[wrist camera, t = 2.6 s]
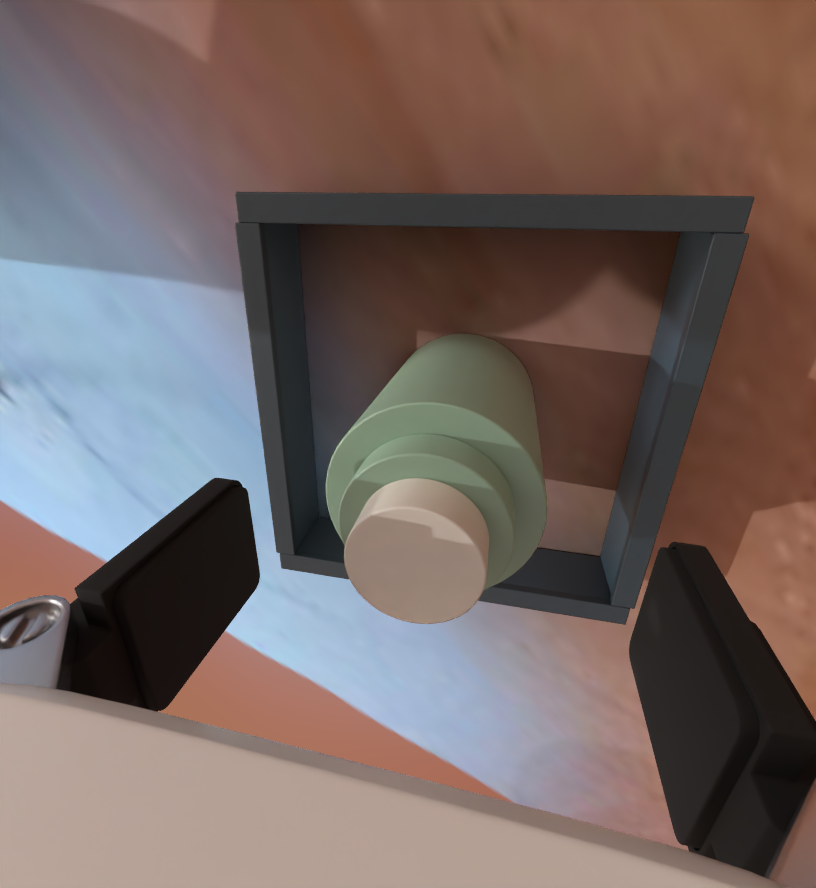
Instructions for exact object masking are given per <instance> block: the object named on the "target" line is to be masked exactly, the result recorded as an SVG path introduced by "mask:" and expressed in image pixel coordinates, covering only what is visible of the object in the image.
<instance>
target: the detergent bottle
mask: <svg viewBox="0 0 816 888" xmlns="http://www.w3.org/2000/svg"><path fill="white" fill-rule="evenodd" d="M326 499H327V506H328V510H329V513H330V517H331V520H332V522H333V524H334V527H335V529H336V531H337V533H338V534H339V536H340V538H341V539H342V541H343V544H344V546H345V548H344V562H345V568H346V571H347V574H348V577H349V579H350V581H351V583H352V584H353V586H354V588H355V589H356V590H357V591H358V593H359V594H360V595H361V596H362V597H363V598H364V599H365V600H366V601H367V602H368V603H369V604H371V605H372V606H373V607H375V608H376V609H378V610H379V611H381V612H383V613H385V614H387V615H389V616H391V617H394V618H396V619H399V620H402V621H407V622H411V623H419V624H433V623H441V622H446V621H449V620H452V619H455V618H457V617H459V616H461V615H462V614H464V613H466V612H467V611H468V610H469V609H471V608H472V607H473V606H474V605H475V603H476V602H477V601H478V600H479V598H480V596H481V595H482V593H483V591H484V590H486V589H487V588H489V587H491V586H493V585H496V584H498V583H500V582H502V581H504V580H505V579H507V578H508V577H510V576H511V575H513V574H514V573H515V572H516V571H518V570H519V569H520V568H521V567H522V566H523V565H524V564H525V563H526V562H527V561H528V559H529V558H530V557H531V556H532V554H533V553H534V551H535V550H536V548H537V546H538V544H539V542H540V540H541V538H542V535H543V532H544V528H545V525H546V518H547V495H546V488H545V480H544V472H543V464H542V456H541V449H540V441H539V433H538V425H537V417H536V410H535V402H534V394H533V389H532V384H531V381H530V378H529V376H528V373H527V372H526V370H525V368H524V366H523V365H522V363H521V362H520V361H519V359H518V358H517V357H516V356H515V355H514V354H513V353H512V352H511V351H510V350H508V349H507V348H506V347H504V346H503V345H501V344H499V343H498V342H496V341H494V340H491V339H489V338H487V337H483V336H479V335H474V334H451V335H446V336H442V337H439V338H436V339H434V340H432V341H430V342H428V343H426V344H424V345H423V346H421V347H420V348H419V349H418V350H416V351H415V352H414V353H413V354H412V355H411V356H410V357H409V358H408V360H407V361H406V362H405V363H404V365H403V366H402V367H401V368H400V369H399V371H398V372H397V373H396V374H395V375H394V377H393V378H392V379H391V380H390V382H389V383H388V384H387V385H386V386H385V388H384V389H383V390H382V391H381V392H380V394H379V395H378V396H377V397H376V398H375V400H374V401H373V402H372V403H371V405H370V406H369V407H368V408H367V409H366V411H365V412H364V413H363V414H362V415H361V417H360V418H359V419H358V420H357V422H356V423H355V424H354V425H353V426H352V428H351V429H350V430H349V431H348V432H347V434H346V435H345V436H344V437H343V439H342V440H341V442H340V443H339V445H338V446H337V448H336V450H335V452H334V454H333V456H332V458H331V461H330V464H329V467H328V471H327V477H326Z"/></svg>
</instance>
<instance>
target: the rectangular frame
mask: <svg viewBox="0 0 816 888" xmlns="http://www.w3.org/2000/svg"><path fill="white" fill-rule="evenodd" d="M235 194H236V203H237V211H238V219H239V222H240V223H235V228H236V235H237V243H238V251H239V259H240V267H241V275H242V283H243V291H244V299H245V307H246V314H247V322H248V330H249V338H250V346H251V354H252V362H253V370H254V378H255V385H256V393H257V401H258V409H259V417H260V425H261V433H262V441H263V449H264V457H265V464H266V472H267V480H268V488H269V496H270V504H271V512H272V520H273V528H274V535H275V543H276V551H277V552H278V553H280V560H281V568H283V569H289V570H295V571H301V572H307V573H313V574H320V575H326V576H332V577H338V578H344V579H349V577H348V574H347V571H346V568H345V562H344V548H345V546H344V544H343V541H342V539H341V538H340V536H339V534H338V533H337V531H336V529H335V527H334V524H333V522H332V520H331V519H327V518H320V517H319V510H318V496H317V483H316V469H315V456H314V443H313V429H312V416H311V402H310V389H309V375H308V362H307V349H306V335H305V322H304V308H303V295H302V282H301V268H300V255H299V241H298V228H297V224H324V225H371V226H418V227H465V228H512V229H559V230H606V231H653V232H681V234H680V238H679V242H678V246H677V250H676V254H675V258H674V262H673V266H672V270H671V274H670V279H669V283H668V287H667V291H666V295H665V299H664V303H663V307H662V311H661V315H660V319H659V323H658V327H657V331H656V335H655V339H654V343H653V347H652V351H651V355H650V359H649V363H648V367H647V371H646V375H645V379H644V383H643V387H642V391H641V395H640V399H639V403H638V407H637V411H636V415H635V419H634V423H633V427H632V431H631V435H630V439H629V443H628V447H627V451H626V455H625V459H624V463H623V467H622V471H621V475H620V479H619V483H618V487H617V491H616V495H615V499H614V503H613V507H612V511H611V515H610V519H609V523H608V527H607V531H606V535H605V539H604V543H603V547H602V551H601V555H600V557H597V556H590V555H583V554H576V553H569V552H562V551H555V550H547V549H540V548H536V550H535V551H534V553H533V554H532V556H531V557H530V558H529V559H528V561H527V562H526V563H525V564H524V565H523V566H522V567H521V568H520V569H519V570H518V571H516V572H515V573H514V574H513V575H511V576H510V577H508V578H507V579H505V580H504V581H502V582H500V583H498V584H496V585H493V586H491V587H489V588H487V589H486V590H484V591H483V593H482V595H481V596H480V598H479V600H478V601H484V602H490V603H496V604H502V605H508V606H514V607H521V608H527V609H533V610H539V611H545V612H551V613H557V614H563V615H569V616H575V617H581V618H588V619H594V620H600V621H606V622H612V623H618V624H624V625H625V624H626V621H627V618H628V614H629V611H630V608H632V609H634V608H635V605H636V602H637V599H638V595H639V592H640V589H641V586H642V582H643V579H644V576H645V573H646V569H647V566H648V563H649V560H650V556H651V553H652V550H653V547H654V543H655V540H656V537H657V534H658V530H659V527H660V524H661V521H662V517H663V514H664V511H665V508H666V504H667V501H668V498H669V495H670V491H671V488H672V485H673V482H674V478H675V475H676V472H677V469H678V465H679V462H680V459H681V456H682V452H683V449H684V446H685V443H686V439H687V436H688V433H689V430H690V426H691V423H692V420H693V417H694V413H695V410H696V407H697V404H698V400H699V397H700V394H701V391H702V387H703V384H704V381H705V378H706V374H707V371H708V368H709V365H710V361H711V358H712V355H713V352H714V348H715V345H716V342H717V339H718V335H719V332H720V329H721V326H722V322H723V319H724V316H725V313H726V309H727V306H728V303H729V300H730V296H731V293H732V290H733V287H734V283H735V280H736V277H737V274H738V270H739V267H740V264H741V261H742V257H743V254H744V251H745V248H746V244H747V241H748V238H749V234H748V233H744V231H745V228H746V224H747V221H748V218H749V214H750V211H751V208H752V204H753V201H754V196H668V195H548V194H427V193H306V192H236V193H235Z"/></svg>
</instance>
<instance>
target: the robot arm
mask: <svg viewBox="0 0 816 888" xmlns="http://www.w3.org/2000/svg"><path fill="white" fill-rule="evenodd" d="M259 578H260V572H259V565H258V558H257V551H256V545H255V538H254V531H253V524H252V517H251V510H250V504H249V497H248V492H247V490H246V488H244V487H242V484H241V483H240V482H239V481H236V480H229V479H222V478H214V479H212V480H211V481H209V482H208V483H207V484H206V485H204V486H203V487H202V488H201V489H199V490H198V491H197V492H196V493H194V494H193V495H192V496H190V497H189V498H188V499H187V500H185V501H184V502H183V503H182V504H180V505H179V506H178V507H177V508H175V509H174V510H173V511H172V512H170V513H169V514H168V515H166V516H165V517H164V518H163V519H161V520H160V521H159V522H158V523H156V524H155V525H154V526H153V527H151V528H150V529H149V530H148V531H146V532H145V533H144V534H142V535H141V536H140V537H139V538H137V539H136V540H135V541H134V542H132V543H131V544H130V545H129V546H127V547H126V548H125V549H124V550H122V551H121V552H120V553H118V554H117V555H116V556H115V557H113V558H112V559H111V560H110V561H108V562H107V563H106V564H105V565H103V566H102V567H101V568H99V569H98V570H97V571H96V572H95V573H93V574H92V575H91V576H89V577H88V578H87V579H86V580H84V581H83V582H82V583H81V584H79V585H78V586H77V587H75V591H76V594H77V596H78V598H77V599H76V600H75V601H73V602H72V603H71V604H69V602H68V601H67V600H66V599H65V598H62V597H59V596H47V595H46V596H45V595H44V596H38V597H33V598H29V599H26V600H23V601H20V602H17V603H14V604H12V605H10V606H8V607H6V608H4V609H2V610H0V888H816V721H815V720H814V718H813V716H812V715H811V713H810V711H809V710H808V708H807V706H806V705H805V703H804V701H803V700H802V698H801V696H800V695H799V693H798V691H797V690H796V688H795V686H794V685H793V683H792V682H791V680H790V678H789V677H788V675H787V673H786V672H785V670H784V668H783V667H782V665H781V663H780V662H779V660H778V658H777V657H776V655H775V653H774V652H773V650H772V648H771V647H770V645H769V644H768V642H767V640H766V639H765V637H764V635H763V634H762V632H761V630H760V629H759V628H758V627H757V625H756V624H755V623H753V622H751V621H750V620H749V618H748V617H747V615H746V613H745V612H744V610H743V608H742V607H741V605H740V603H739V601H738V600H737V598H736V596H735V595H734V593H733V591H732V590H731V588H730V586H729V585H728V583H727V581H726V580H725V578H724V576H723V574H722V573H721V571H720V569H719V568H718V566H717V564H716V563H715V561H714V559H713V558H712V556H711V554H710V553H709V551H708V549H707V548H706V547H704V546H700V545H692V544H685V543H678V542H672V543H671V544H670V545H669V547H668V548H663V547H662V548H660V550H659V551H658V554H657V557H656V560H655V563H654V567H653V570H652V573H651V576H650V579H649V583H648V586H647V589H646V592H645V595H644V599H643V602H642V605H641V608H640V612H639V615H638V618H637V621H636V624H635V628H634V631H633V634H632V637H631V640H630V646H629V655H630V662H631V665H632V669H633V673H634V677H635V681H636V685H637V689H638V693H639V697H640V701H641V704H642V708H643V712H644V716H645V720H646V724H647V728H648V732H649V736H650V740H651V743H652V747H653V751H654V755H655V759H656V763H657V767H658V771H659V775H660V779H661V782H662V786H663V790H664V794H665V798H666V802H667V806H668V810H669V814H670V818H671V822H672V825H673V829H674V833H675V836H676V838H677V840H678V842H679V843H680V844H682V845H686V846H688V849H689V851H687V850H683V849H680V848H676V847H672V846H669V845H665V844H662V843H658V842H655V841H651V840H647V839H644V838H640V837H637V836H633V835H630V834H626V833H623V832H619V831H615V830H612V829H608V828H605V827H601V826H598V825H594V824H590V823H587V822H583V821H580V820H576V819H572V818H569V817H565V816H561V815H557V814H553V813H550V812H546V811H542V810H538V809H534V808H531V807H527V806H523V805H519V804H515V803H511V802H508V801H504V800H500V799H496V798H492V797H488V796H485V795H481V794H477V793H473V792H470V791H466V790H462V789H458V788H454V787H450V786H446V785H443V784H439V783H435V782H431V781H428V780H424V779H420V778H416V777H412V776H408V775H404V774H401V773H396V772H393V771H389V770H385V769H381V768H377V767H373V766H369V765H365V764H362V763H357V762H354V761H350V760H346V759H342V758H338V757H334V756H330V755H326V754H322V753H319V752H315V751H311V750H306V749H303V748H299V747H295V746H291V745H287V744H283V743H280V742H276V741H272V740H268V739H264V738H260V737H256V736H252V735H248V734H244V733H240V732H236V731H232V730H228V729H224V728H220V727H216V726H212V725H208V724H204V723H200V722H196V721H192V720H188V719H184V718H180V717H176V716H172V715H168V714H164V713H160V712H158V710H159V711H161V710H163V709H165V708H166V707H167V706H168V705H169V704H170V703H171V701H172V700H173V699H174V697H175V696H176V695H177V693H178V692H179V691H180V689H181V688H182V687H183V685H184V684H185V683H186V681H187V680H188V679H189V677H190V676H191V675H192V673H193V672H194V671H195V669H196V668H197V667H198V665H199V664H200V663H201V661H202V660H203V658H204V657H205V656H206V655H207V653H208V652H209V651H210V649H211V648H212V647H213V645H214V644H215V643H216V641H217V640H218V639H219V637H220V636H221V635H222V633H223V632H224V631H225V629H226V628H227V627H228V625H229V624H230V623H231V621H232V620H233V619H234V617H235V616H236V615H237V613H238V612H239V611H240V609H241V608H242V607H243V605H244V604H245V603H246V601H247V600H248V599H249V597H250V596H251V595H252V593H253V592H254V591H255V589H256V588H257V585H258V583H259Z"/></svg>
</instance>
